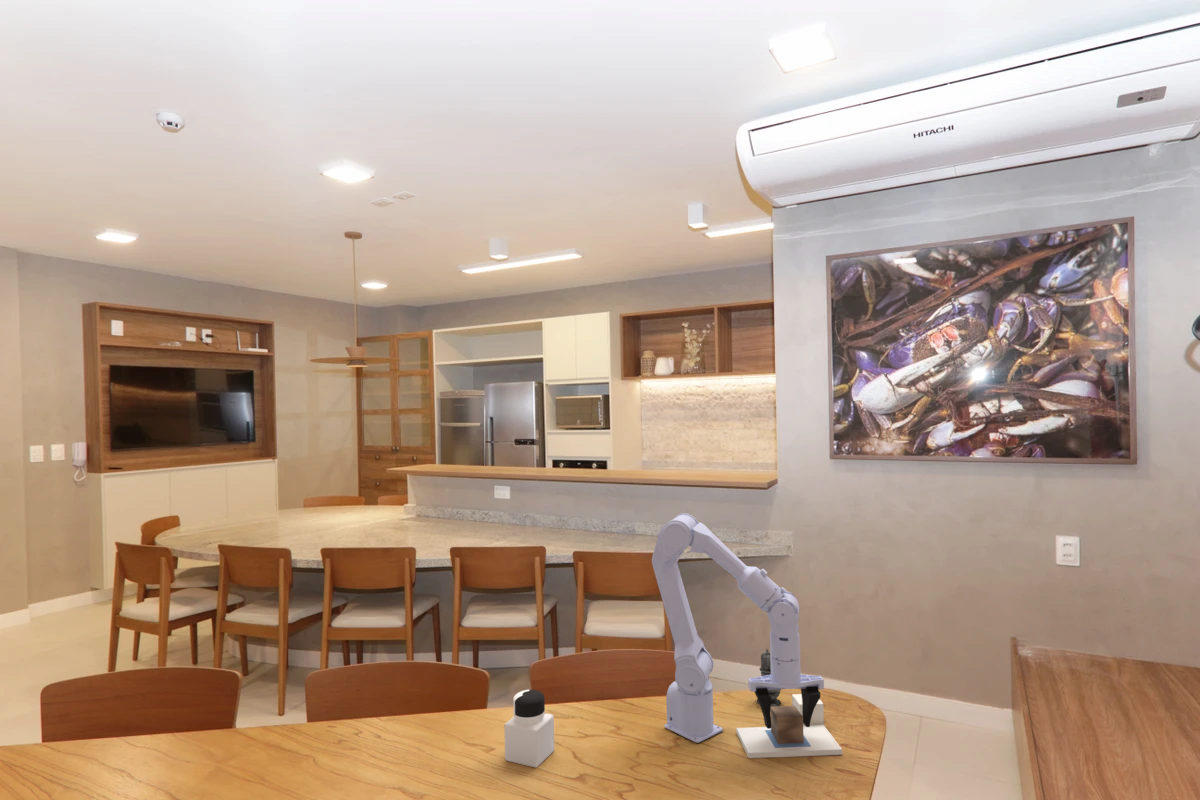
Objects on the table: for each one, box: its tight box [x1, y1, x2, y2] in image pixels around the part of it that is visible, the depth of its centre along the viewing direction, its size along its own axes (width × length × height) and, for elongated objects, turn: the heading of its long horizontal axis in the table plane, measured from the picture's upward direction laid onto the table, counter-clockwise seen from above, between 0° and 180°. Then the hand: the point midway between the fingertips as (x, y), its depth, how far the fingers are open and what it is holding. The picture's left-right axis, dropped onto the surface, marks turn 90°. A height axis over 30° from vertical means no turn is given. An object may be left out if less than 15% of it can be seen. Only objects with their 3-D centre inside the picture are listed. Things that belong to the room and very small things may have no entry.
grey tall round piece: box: [756, 648, 782, 707], centre depth 152 cm, size 6×6×12 cm
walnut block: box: [770, 705, 804, 744], centre depth 134 cm, size 5×5×5 cm
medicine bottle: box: [504, 689, 555, 769], centre depth 131 cm, size 7×7×12 cm
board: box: [735, 724, 843, 759], centre depth 133 cm, size 18×10×1 cm, turn 92°
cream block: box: [791, 693, 825, 726], centre depth 142 cm, size 5×5×5 cm
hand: (787, 725), depth 133 cm, fingers open, 7 cm apart
